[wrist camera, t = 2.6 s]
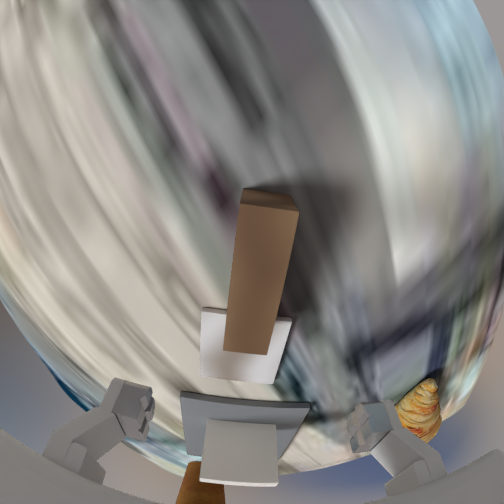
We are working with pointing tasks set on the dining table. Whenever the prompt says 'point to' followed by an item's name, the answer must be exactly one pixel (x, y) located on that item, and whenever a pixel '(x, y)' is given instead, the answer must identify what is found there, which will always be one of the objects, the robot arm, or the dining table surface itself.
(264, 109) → the dining table surface
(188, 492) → the disposable coffee cup
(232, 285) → the wooden handled scraper
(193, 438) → the slate board
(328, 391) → the dining table surface
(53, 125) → the dining table surface
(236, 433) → the tile
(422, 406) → the croissant
